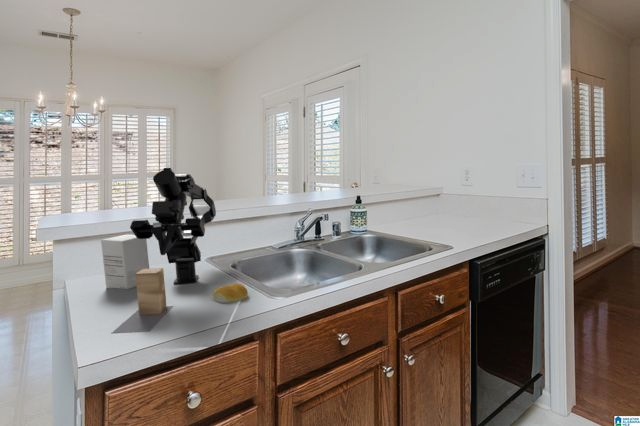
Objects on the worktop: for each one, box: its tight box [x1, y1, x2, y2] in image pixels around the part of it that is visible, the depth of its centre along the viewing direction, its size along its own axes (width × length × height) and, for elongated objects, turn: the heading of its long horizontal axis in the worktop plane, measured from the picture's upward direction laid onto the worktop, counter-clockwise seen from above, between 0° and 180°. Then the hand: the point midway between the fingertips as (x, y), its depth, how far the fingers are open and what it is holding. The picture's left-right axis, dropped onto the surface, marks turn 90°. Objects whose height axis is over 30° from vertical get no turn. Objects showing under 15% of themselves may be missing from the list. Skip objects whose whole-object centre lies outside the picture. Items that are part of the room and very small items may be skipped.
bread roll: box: [212, 283, 249, 304], centre depth 98 cm, size 8×9×4 cm
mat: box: [111, 305, 174, 334], centre depth 85 cm, size 14×8×1 cm, turn 3°
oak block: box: [136, 267, 168, 314], centre depth 89 cm, size 4×5×10 cm
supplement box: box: [100, 233, 150, 290], centre depth 112 cm, size 9×9×15 cm
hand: (162, 254), depth 97 cm, fingers closed
